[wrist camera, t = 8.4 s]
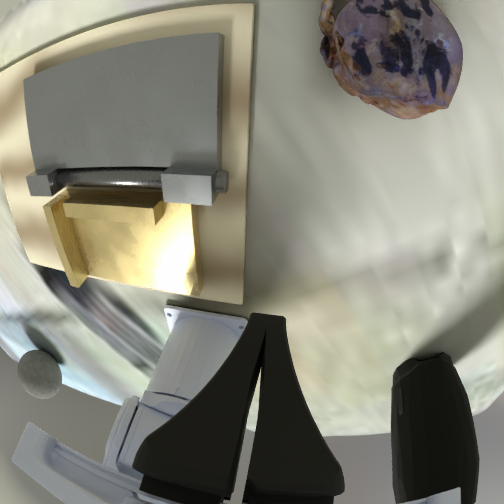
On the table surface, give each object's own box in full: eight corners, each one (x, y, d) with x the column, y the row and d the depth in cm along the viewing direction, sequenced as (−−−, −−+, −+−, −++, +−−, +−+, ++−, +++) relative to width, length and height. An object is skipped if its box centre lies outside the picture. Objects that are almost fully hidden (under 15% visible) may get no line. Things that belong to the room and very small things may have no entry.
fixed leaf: (229, 190, 18) (220, 206, 16) (45, 184, 20) (27, 196, 18) (233, 34, 12) (222, 28, 10) (30, 78, 14) (9, 83, 12)
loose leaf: (203, 286, 23) (192, 312, 21) (87, 265, 24) (71, 285, 22) (196, 193, 18) (180, 215, 16) (65, 188, 19) (42, 205, 17)
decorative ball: (37, 354, 46) (17, 387, 38) (27, 332, 40) (3, 369, 32) (72, 377, 47) (53, 413, 39) (66, 358, 42) (43, 399, 34)
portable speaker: (464, 360, 26) (489, 503, 10) (406, 393, 31) (413, 525, 15) (439, 337, 24) (469, 517, 8) (372, 376, 29) (373, 537, 13)
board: (243, 299, 24) (242, 305, 24) (33, 259, 27) (30, 262, 26) (254, 5, 11) (253, 3, 11) (-8, 79, 14) (-13, 80, 13)
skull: (322, -68, 7) (328, -116, 2) (440, -33, 7) (486, -57, 2) (310, 94, 14) (316, 103, 9) (429, 123, 14) (480, 150, 9)
